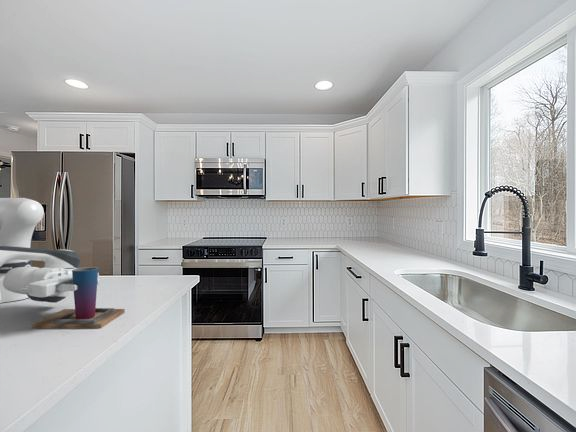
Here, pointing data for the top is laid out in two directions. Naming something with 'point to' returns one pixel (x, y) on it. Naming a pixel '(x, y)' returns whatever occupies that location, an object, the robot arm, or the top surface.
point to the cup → (85, 291)
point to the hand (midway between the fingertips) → (87, 284)
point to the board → (68, 319)
